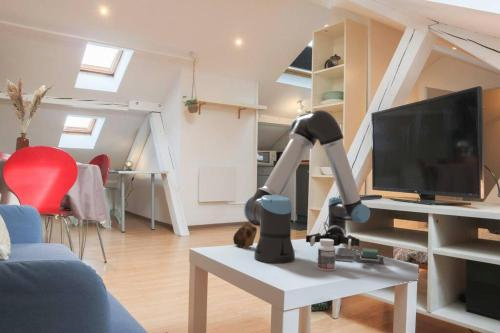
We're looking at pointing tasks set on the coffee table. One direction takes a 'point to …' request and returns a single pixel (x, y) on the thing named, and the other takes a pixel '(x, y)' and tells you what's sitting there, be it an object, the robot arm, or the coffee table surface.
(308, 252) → the coffee table surface
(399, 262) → the coffee table surface
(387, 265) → the coffee table surface
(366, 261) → the switch base
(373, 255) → the switch paddle
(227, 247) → the coffee table surface
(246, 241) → the decorative rock
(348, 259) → the coaster
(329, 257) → the pill bottle
